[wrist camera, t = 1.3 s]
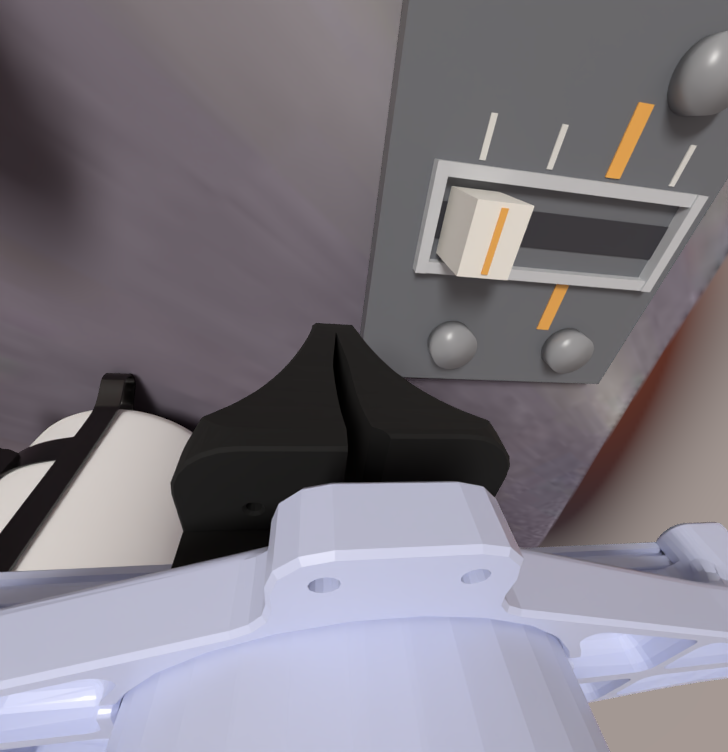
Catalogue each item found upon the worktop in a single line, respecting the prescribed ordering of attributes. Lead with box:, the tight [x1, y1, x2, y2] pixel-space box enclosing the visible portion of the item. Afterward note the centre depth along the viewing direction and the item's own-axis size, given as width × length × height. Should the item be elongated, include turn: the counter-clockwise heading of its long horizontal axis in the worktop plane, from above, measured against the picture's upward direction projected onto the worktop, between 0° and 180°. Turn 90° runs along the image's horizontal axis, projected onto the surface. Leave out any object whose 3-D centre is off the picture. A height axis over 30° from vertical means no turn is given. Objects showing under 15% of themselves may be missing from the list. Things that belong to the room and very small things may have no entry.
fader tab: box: [436, 186, 534, 280], centre depth 17 cm, size 3×2×4 cm
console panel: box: [360, 0, 728, 384], centre depth 19 cm, size 20×18×3 cm
